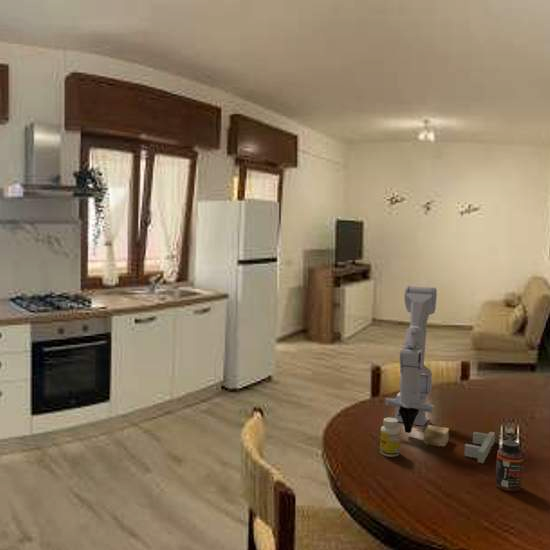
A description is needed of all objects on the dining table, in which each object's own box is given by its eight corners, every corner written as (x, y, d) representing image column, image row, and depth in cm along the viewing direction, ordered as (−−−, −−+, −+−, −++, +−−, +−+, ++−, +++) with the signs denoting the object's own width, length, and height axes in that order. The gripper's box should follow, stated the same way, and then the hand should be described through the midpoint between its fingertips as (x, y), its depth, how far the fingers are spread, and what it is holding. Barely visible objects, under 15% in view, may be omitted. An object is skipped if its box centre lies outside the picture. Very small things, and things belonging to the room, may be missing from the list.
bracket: (462, 458, 165) (462, 448, 164) (475, 438, 180) (475, 429, 180) (483, 463, 162) (483, 452, 162) (494, 442, 178) (494, 432, 177)
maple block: (423, 444, 176) (424, 430, 175) (428, 437, 181) (428, 424, 181) (444, 447, 173) (445, 434, 173) (448, 441, 179) (449, 428, 178)
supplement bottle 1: (377, 449, 170) (378, 416, 169) (396, 449, 171) (397, 416, 170) (382, 457, 165) (384, 423, 164) (401, 457, 165) (403, 422, 164)
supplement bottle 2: (509, 494, 144) (511, 449, 143) (489, 484, 149) (492, 440, 148) (526, 489, 147) (529, 445, 145) (506, 480, 152) (509, 436, 151)
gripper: (382, 387, 180) (381, 431, 181) (430, 395, 173) (428, 440, 174) (390, 382, 186) (388, 424, 187) (436, 389, 179) (434, 433, 180)
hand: (408, 431), depth 181 cm, fingers closed
